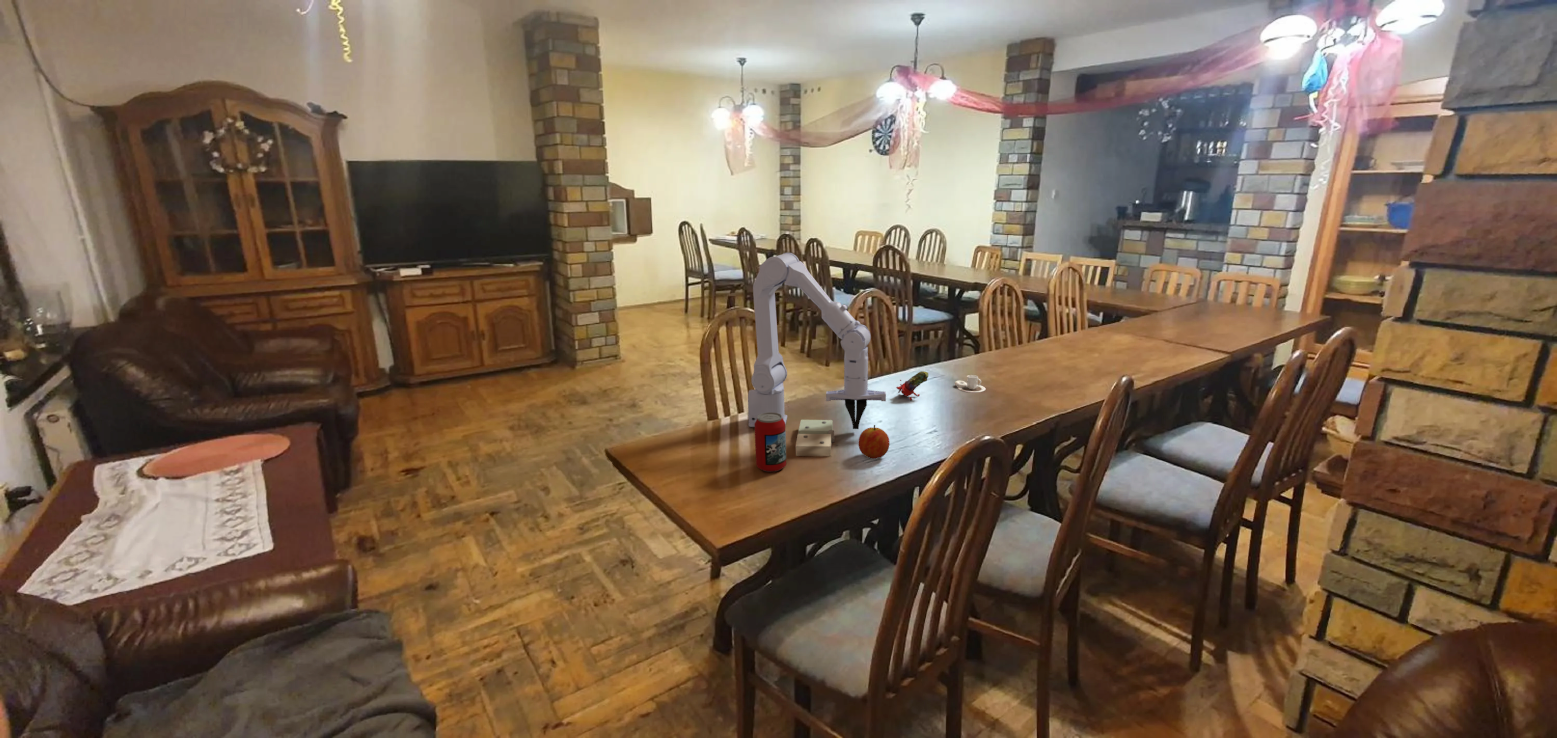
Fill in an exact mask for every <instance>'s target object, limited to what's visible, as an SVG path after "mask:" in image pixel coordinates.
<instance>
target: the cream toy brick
mask: <svg viewBox="0 0 1557 738" xmlns="http://www.w3.org/2000/svg"><path fill="white" fill-rule="evenodd" d="M833 421H834V420H832V419H800V423H799V427H798V434H828V431H829V430H834V429H833V428H834V427H833V426H834V425H833V424H834V422H833Z"/></svg>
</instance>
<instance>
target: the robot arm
mask: <svg viewBox="0 0 1557 738" xmlns="http://www.w3.org/2000/svg"><path fill="white" fill-rule="evenodd" d="M756 275H757V276H756V277H755V280H754V282H753V284H752V293H753V305H754V306H753V307H754V308H753V309H754V318H755V319H754V320H755V331H756V332H755V333H756V335H755V336H756V345H757V347H756V348H757V357H756V358H755V360H754V363H753V373H752V375H751V384H752V387H753V388H754V389H749V390H748V395H747V411H748V412H747V413H748V414H747V416H748V427H749V428H755V422H756V420H757V417H758V415H760V414H763V413H769V412H772V413H778V414H781V415H782V418H783V420H784V422H785V426H786V424H787V421H788V415H787V414H786V413H785V386H784V382H785V381H786V380H787V377H788V370H787V368H786V366H785V362H784V357H783V355H782V354H781V353H780V352H779V337H778V325H777V324H778V323H777V322H778V321H777V308H776V307H777V306H776V305H777V304H776V294H775V293H776V291H777V290H778V289H780V287H781V286H782V285H783V284H784V285H785V286H790V287H796V288H798V289H800V290H801V291H802V292H803V293H804V294H805V295H806V296H807V297H808V298H809V299H810V300H811V301H812V302H813V303H814V305H815V306H816V307H818V309H819V310H820V311H821V319H822V320H823V321H824V323H826V325H828V327H829V329H831V330H832V331H833V332H834V333H835V335H836V336H837V337H838V338H839V339H840V346H841V348H842V349H843V351H844V357H843V365H844V367H843V369H844V373H843V374H844V375H843V376H844V377H843V383H844V384H843V389H841V390H839V389H838V390H830V391H829V390H828V391H827V390H826V391H825V392H826V393H825V401H826V402H831V401H844V406H845V408H846V410H847V413H848V414H849V418H850V420H851V424H852V429H853V430H859V427H860V423H861V420H862V417H863V414H864V411H865V409H866V408H867V405H868V401H880V402H887V401H886V400H887V398H886V397H887V393H886V391H884V390H883V391H881V390H872V389H868V387H869V386H868V384H869V383H868V382H869V379H868V378H869V354H868V353H869V346H868V345H869V344H870V342H871V338H872V336H871V332H870V330H869V328H868V327H867V326H866V325H864V324H861V322H860V321H859V320H856V319H855V318H854V317H853V315H852V314H851V313H849V312H850V311H848V306H847V305H846V304H842V303H841V302H840V301H834V300H832V299H831V298H830V296H829V295H828V293H826V292H825V290H824V289H823V288H822V287H821V285H820V284H819V282H817V280H816V279H815V278H814V276H812V274H811V273H810V271H809V270H808V268H807V267H806V265H805V264H804V262H802V261H800V260H799V258H798V256H797V255H795V254H794V253H792V252H783V253H782V254H779V255H775V256H770V257H768V258H767V259H766V260H764V262H763V263H761V264H759V270H758V273H757V274H756Z"/></svg>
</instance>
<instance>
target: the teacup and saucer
mask: <svg viewBox="0 0 1557 738" xmlns="http://www.w3.org/2000/svg"><path fill="white" fill-rule="evenodd" d="M978 381H979V383H978ZM981 384H982V380H981V379H980V378H979V376H978V375H975V374H968V375H966V381H964V380H956V381H955V382H954V385H955V386H956V388H957V389H958V390H960V391H962V392H965V393H982V392H984V391H986V387H985V386H983V385H981ZM964 388H968V389H969V390H965V389H964ZM977 388H980V390H976V389H977ZM971 390H974V391H971ZM975 390H976V391H975Z"/></svg>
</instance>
